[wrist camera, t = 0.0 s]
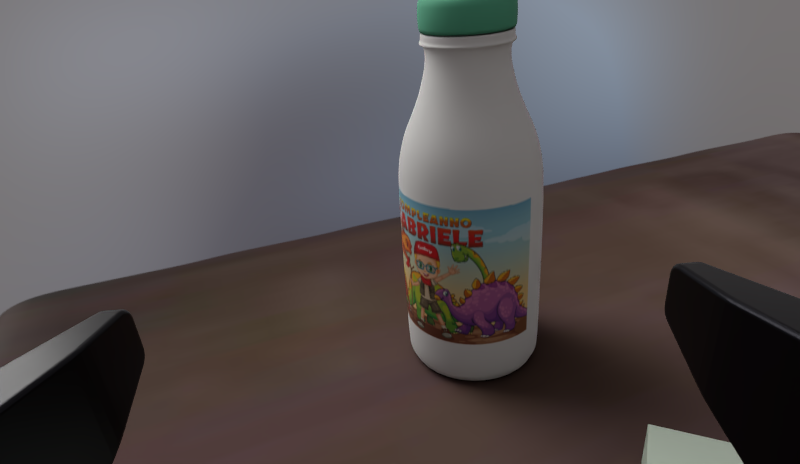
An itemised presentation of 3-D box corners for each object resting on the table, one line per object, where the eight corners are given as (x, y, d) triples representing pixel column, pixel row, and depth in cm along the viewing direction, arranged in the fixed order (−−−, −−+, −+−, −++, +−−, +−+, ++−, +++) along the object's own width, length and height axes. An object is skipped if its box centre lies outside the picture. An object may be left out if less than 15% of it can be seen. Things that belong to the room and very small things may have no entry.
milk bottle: (442, 296, 39) (428, -13, 30) (551, 322, 35) (572, -20, 26) (388, 363, 33) (349, 4, 24) (512, 402, 29) (522, -3, 20)
